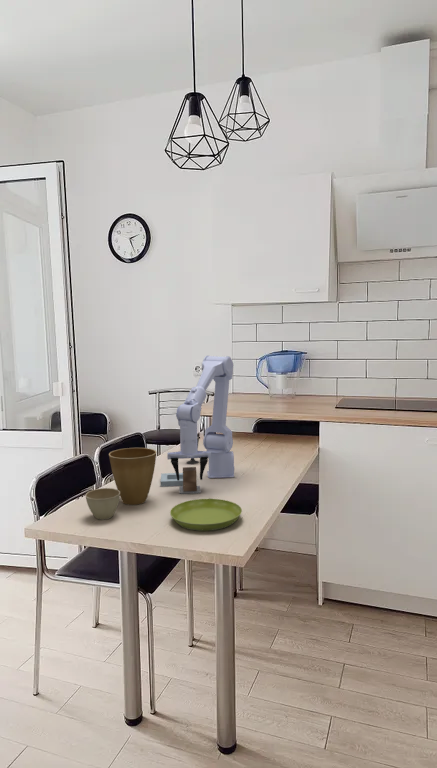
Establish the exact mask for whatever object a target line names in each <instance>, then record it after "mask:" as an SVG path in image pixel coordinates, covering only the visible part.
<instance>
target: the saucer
mask: <svg viewBox="0 0 437 768" xmlns="http://www.w3.org/2000/svg"><path fill="white" fill-rule="evenodd" d="M169 511H170V512H169V513H170V516H171V518H172V520H173V521H174V522H176V523H177V524H178V525H179V526H181V527H182V528H185V529H188V530H190V531H191V530H192V531H199V532H209V531H217V530H218V531H219V530H221V529H225V528H227V527H229V526H231V525H233V524H234V523H235V522H237V520H238V519H239V518H240V516H241V515H242V512H243V510H242V507H241V506H240V505H239V504H238V503H235V502H233V501H230V500H225V499H219V498H197V499H191V500H186V501H183V502H180V503H178V504H176V505H174V506H173V507H172V508H171V509H170V510H169Z"/></svg>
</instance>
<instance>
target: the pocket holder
mask: <svg viewBox="0 0 437 768" xmlns="http://www.w3.org/2000/svg"><path fill="white" fill-rule="evenodd" d="M181 486H183V472H179V480H177V476H176V472H166V473H165V472H164V473H160V487H181Z"/></svg>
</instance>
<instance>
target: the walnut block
mask: <svg viewBox="0 0 437 768" xmlns="http://www.w3.org/2000/svg"><path fill="white" fill-rule="evenodd" d="M182 473H183V491H197V486H198V483H197V482H198V481H197V480H198V479H197V477H198V476H197V474H198V473H197V467H196V466H187V467H185V466H184V467H182Z"/></svg>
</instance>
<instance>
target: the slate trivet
mask: <svg viewBox="0 0 437 768" xmlns="http://www.w3.org/2000/svg"><path fill="white" fill-rule="evenodd" d="M178 487H179V490H178V491H179V495H189V494H190V495H191V494H192V495H193V494H201V492H202V491H201V486H200V485H197V491H183V486H178Z"/></svg>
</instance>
